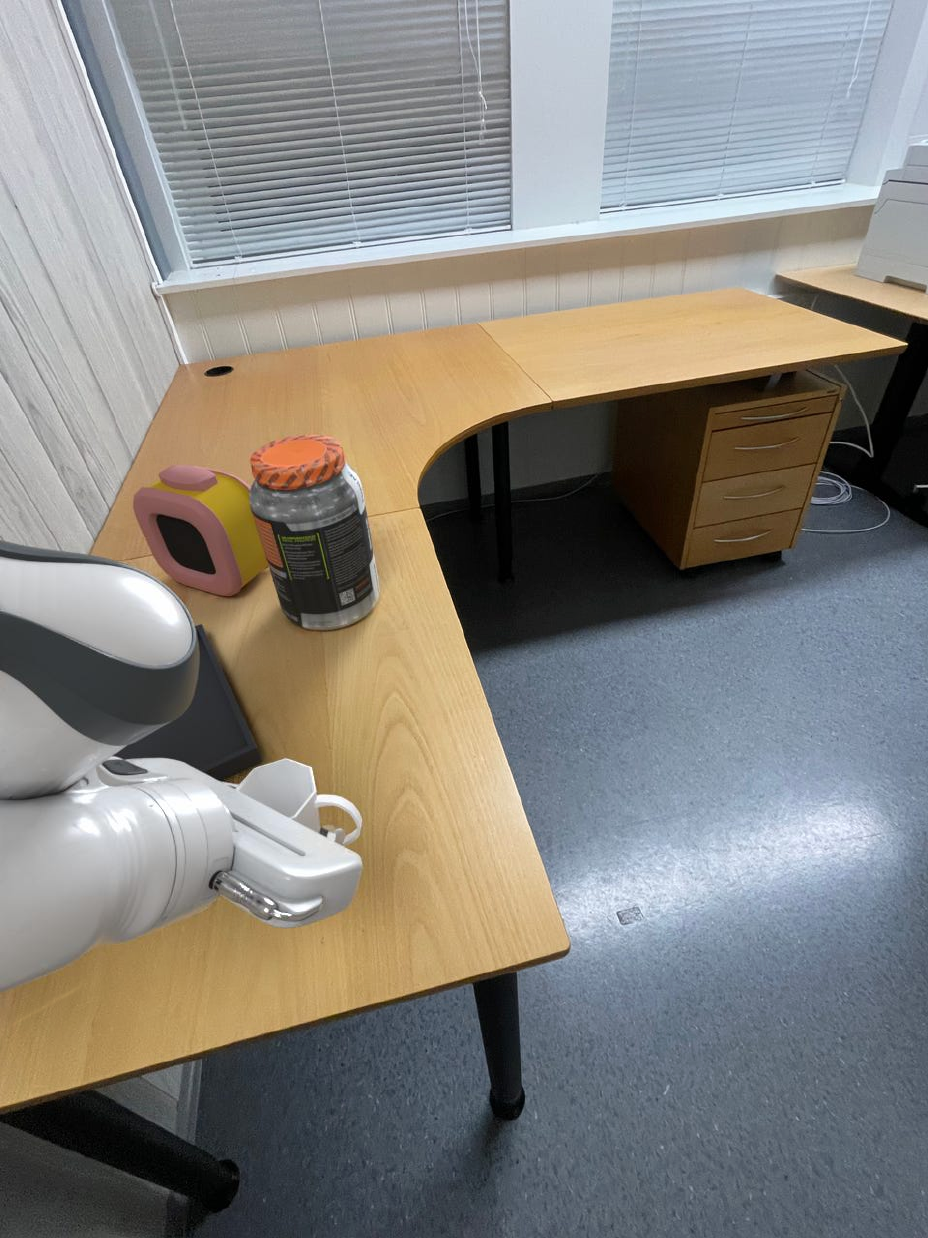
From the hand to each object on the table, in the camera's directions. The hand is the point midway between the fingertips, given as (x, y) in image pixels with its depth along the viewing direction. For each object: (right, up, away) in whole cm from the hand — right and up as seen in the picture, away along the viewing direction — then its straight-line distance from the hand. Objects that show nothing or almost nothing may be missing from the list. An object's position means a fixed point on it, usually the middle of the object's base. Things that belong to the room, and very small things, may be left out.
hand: (296, 815), depth 51 cm
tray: (-26, +3, +28) cm, 38 cm away
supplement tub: (-7, +19, +46) cm, 50 cm away
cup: (+1, -4, +2) cm, 5 cm away
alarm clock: (-27, +24, +53) cm, 64 cm away
